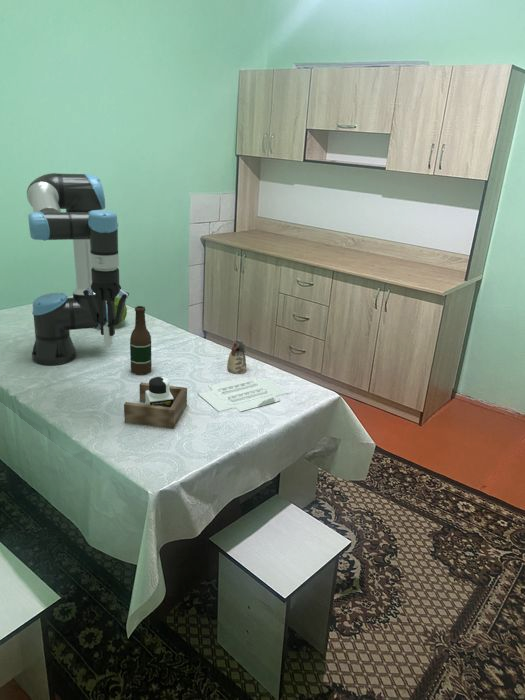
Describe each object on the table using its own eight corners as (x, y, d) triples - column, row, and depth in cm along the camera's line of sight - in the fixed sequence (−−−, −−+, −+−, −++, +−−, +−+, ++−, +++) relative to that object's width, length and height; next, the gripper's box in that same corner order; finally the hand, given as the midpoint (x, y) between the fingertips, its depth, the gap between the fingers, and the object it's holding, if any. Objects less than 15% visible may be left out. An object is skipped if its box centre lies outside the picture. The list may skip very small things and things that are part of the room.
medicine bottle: (150, 422, 159) (149, 386, 154) (145, 410, 165) (144, 375, 160) (173, 418, 161) (174, 383, 157) (168, 407, 167) (168, 373, 163)
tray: (192, 392, 180) (192, 382, 178) (259, 378, 196) (260, 369, 194) (224, 418, 165) (225, 408, 163) (294, 401, 181) (295, 392, 179)
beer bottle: (147, 376, 187) (146, 311, 177) (126, 373, 188) (124, 308, 179) (155, 368, 194) (155, 305, 185) (135, 365, 195) (134, 302, 186)
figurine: (250, 370, 197) (252, 340, 193) (236, 375, 192) (238, 345, 188) (236, 364, 202) (238, 334, 197) (223, 369, 197) (224, 339, 192)
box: (124, 422, 157) (123, 404, 155) (141, 399, 171) (141, 382, 169) (174, 428, 156) (174, 410, 154) (186, 404, 170) (187, 387, 168)
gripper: (76, 268, 146) (81, 347, 155) (122, 273, 145) (125, 352, 154) (88, 262, 153) (92, 338, 162) (132, 266, 152) (133, 343, 161)
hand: (108, 345), depth 158 cm, fingers closed
